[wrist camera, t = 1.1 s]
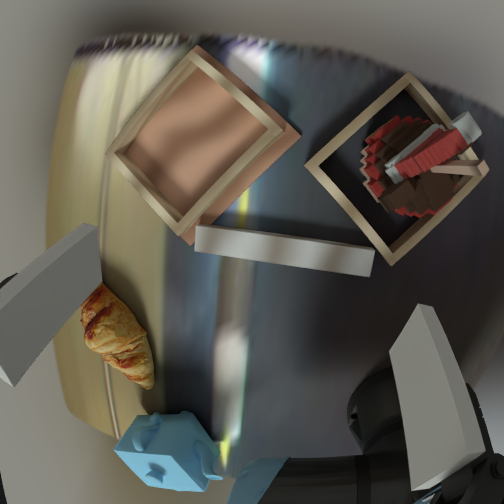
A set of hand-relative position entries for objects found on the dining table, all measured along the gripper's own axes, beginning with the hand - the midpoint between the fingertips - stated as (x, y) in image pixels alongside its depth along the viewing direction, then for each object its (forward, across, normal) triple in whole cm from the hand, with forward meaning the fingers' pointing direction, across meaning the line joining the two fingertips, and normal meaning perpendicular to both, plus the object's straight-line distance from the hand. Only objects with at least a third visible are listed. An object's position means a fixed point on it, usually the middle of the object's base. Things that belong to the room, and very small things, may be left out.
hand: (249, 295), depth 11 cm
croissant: (+20, +19, +28) cm, 39 cm away
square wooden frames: (+24, -1, -2) cm, 24 cm away
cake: (+24, -12, -3) cm, 27 cm away
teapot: (+15, +4, +44) cm, 46 cm away
